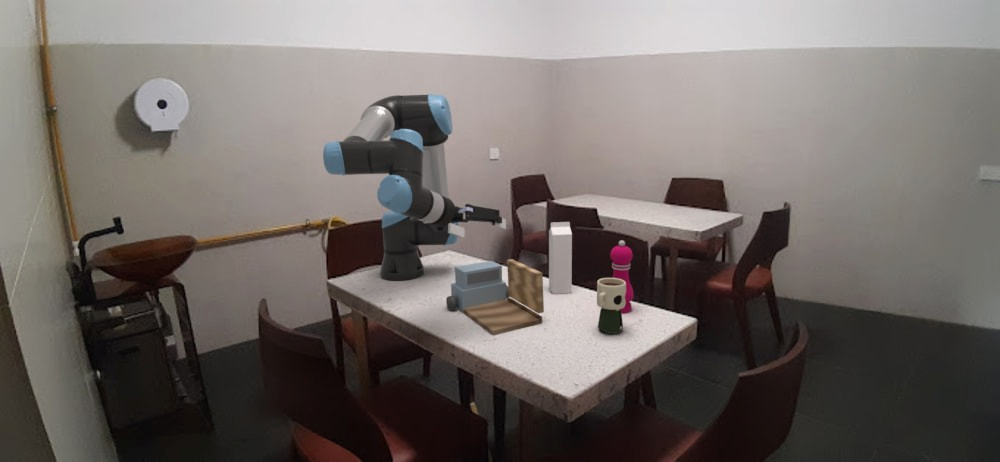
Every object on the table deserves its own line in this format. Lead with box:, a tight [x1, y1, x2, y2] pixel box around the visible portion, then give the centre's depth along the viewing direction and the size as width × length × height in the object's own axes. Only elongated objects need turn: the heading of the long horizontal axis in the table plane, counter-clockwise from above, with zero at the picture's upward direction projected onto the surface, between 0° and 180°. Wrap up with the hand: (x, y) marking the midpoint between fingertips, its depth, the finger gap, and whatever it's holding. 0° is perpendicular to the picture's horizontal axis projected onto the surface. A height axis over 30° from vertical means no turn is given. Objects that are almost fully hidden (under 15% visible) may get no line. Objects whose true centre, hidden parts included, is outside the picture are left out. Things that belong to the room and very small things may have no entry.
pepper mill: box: [609, 239, 634, 314], centre depth 143 cm, size 7×7×20 cm
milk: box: [548, 221, 573, 295], centre depth 159 cm, size 6×6×22 cm
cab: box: [445, 260, 510, 313], centre depth 150 cm, size 8×19×12 cm, turn 119°
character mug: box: [596, 277, 626, 334], centre depth 129 cm, size 11×7×13 cm, turn 138°
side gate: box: [506, 258, 545, 314], centre depth 142 cm, size 16×2×11 cm, turn 29°
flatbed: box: [462, 297, 543, 336], centre depth 140 cm, size 18×15×2 cm
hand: (483, 228), depth 140 cm, fingers open, 13 cm apart
